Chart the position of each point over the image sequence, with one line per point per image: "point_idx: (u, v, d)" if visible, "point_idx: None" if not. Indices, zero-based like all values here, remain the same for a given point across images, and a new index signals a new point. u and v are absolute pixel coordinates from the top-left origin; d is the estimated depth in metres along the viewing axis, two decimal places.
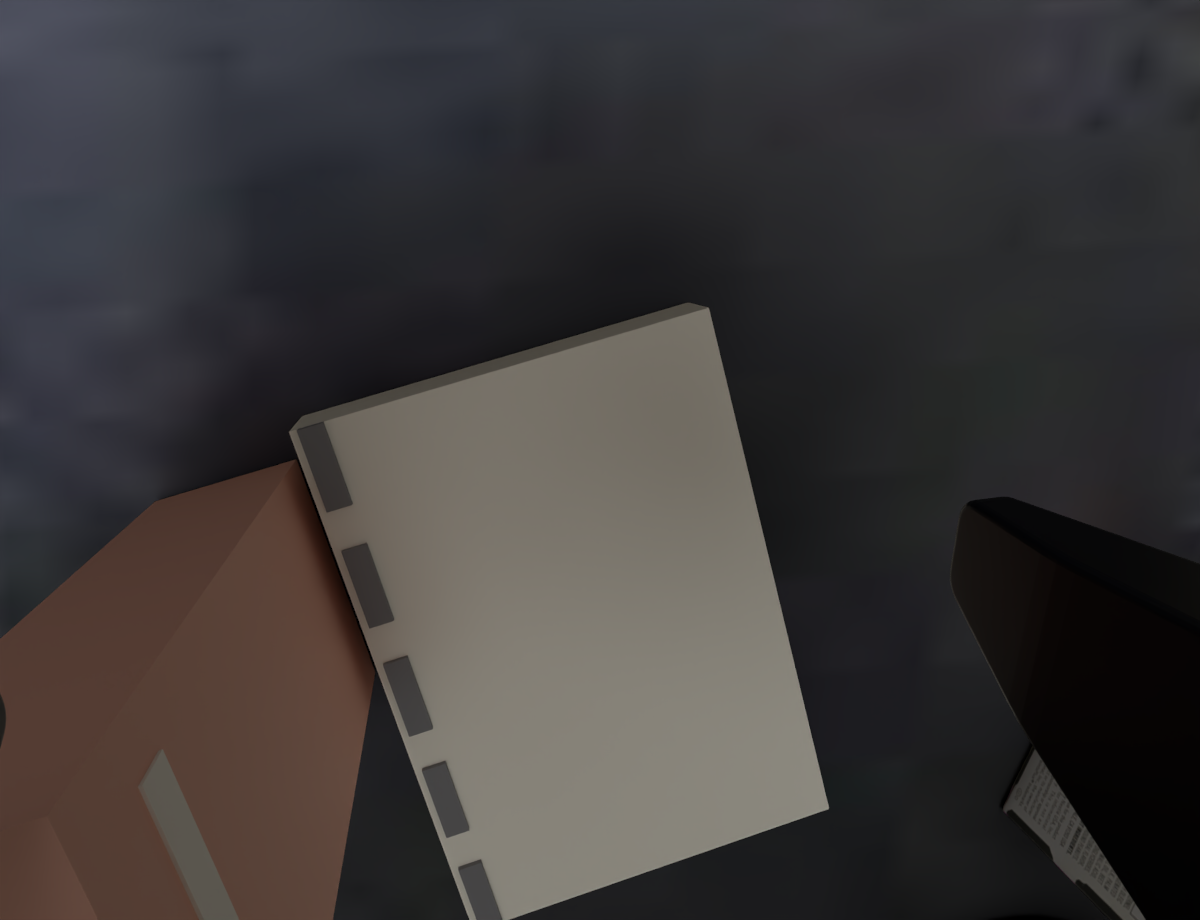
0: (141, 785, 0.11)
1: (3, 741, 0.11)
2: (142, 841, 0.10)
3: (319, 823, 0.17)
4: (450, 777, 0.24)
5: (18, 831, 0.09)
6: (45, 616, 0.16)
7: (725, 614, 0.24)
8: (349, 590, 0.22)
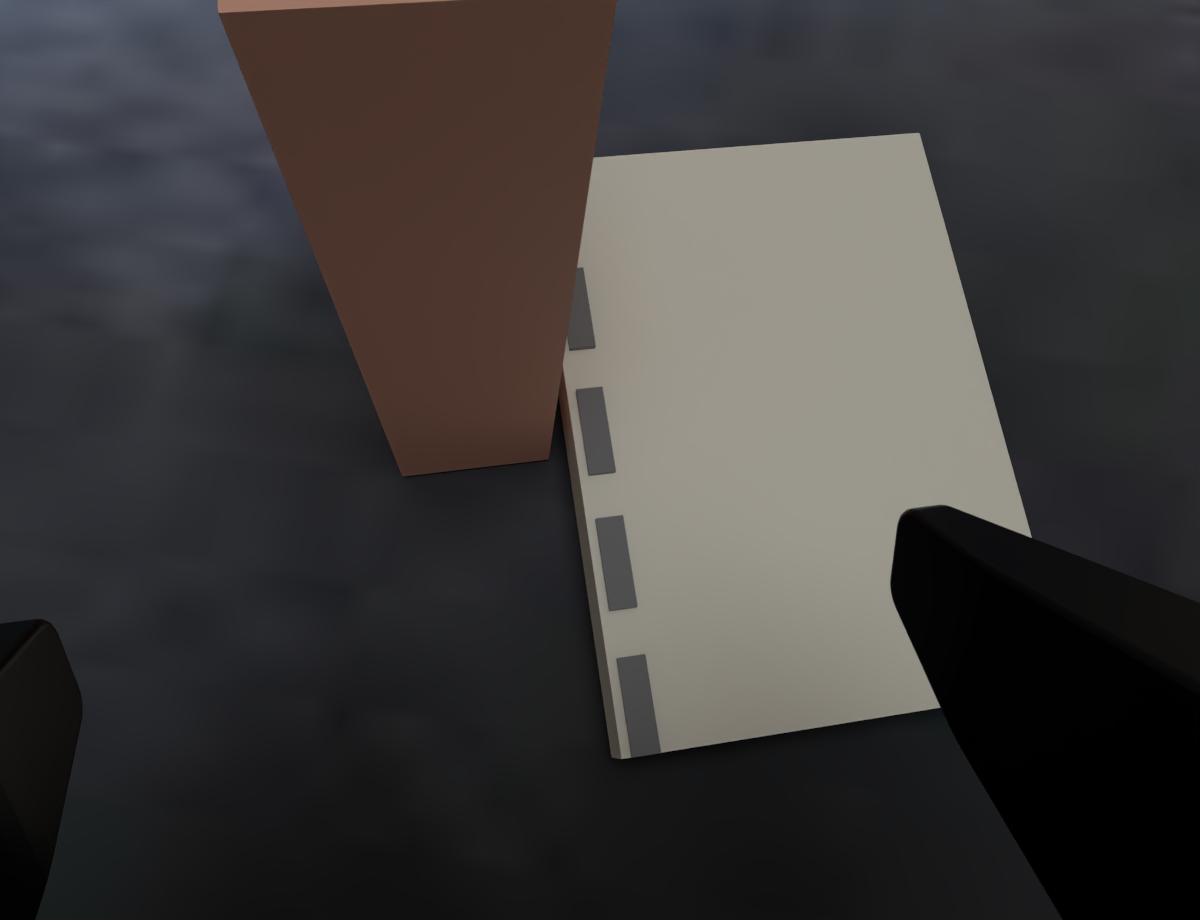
0: None
1: None
2: None
3: None
4: (624, 538, 0.21)
5: None
6: None
7: (938, 415, 0.22)
8: None
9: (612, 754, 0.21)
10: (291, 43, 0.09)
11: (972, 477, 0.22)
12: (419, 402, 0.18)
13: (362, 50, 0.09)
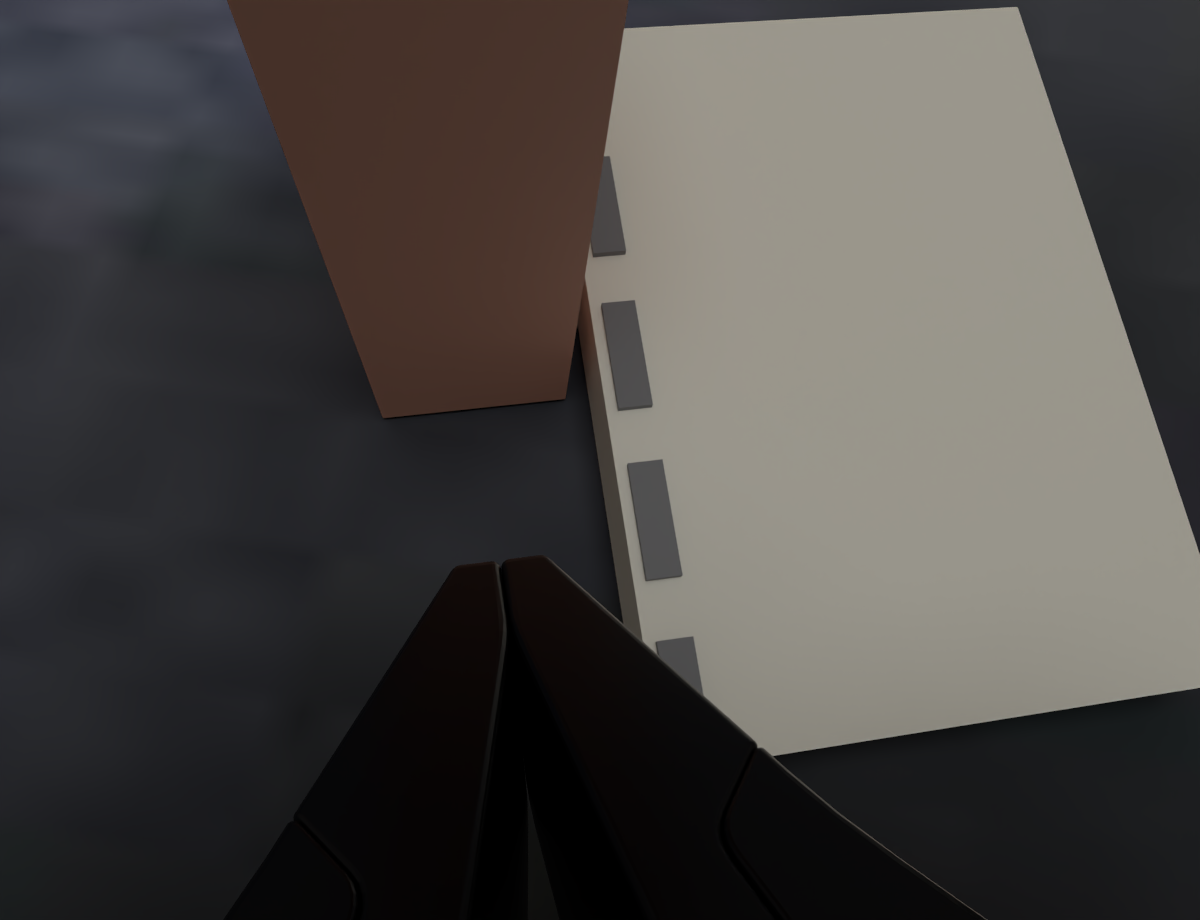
0: None
1: None
2: None
3: None
4: (664, 488, 0.16)
5: None
6: None
7: (1055, 341, 0.18)
8: None
9: None
10: None
11: (1101, 417, 0.17)
12: (397, 295, 0.13)
13: None
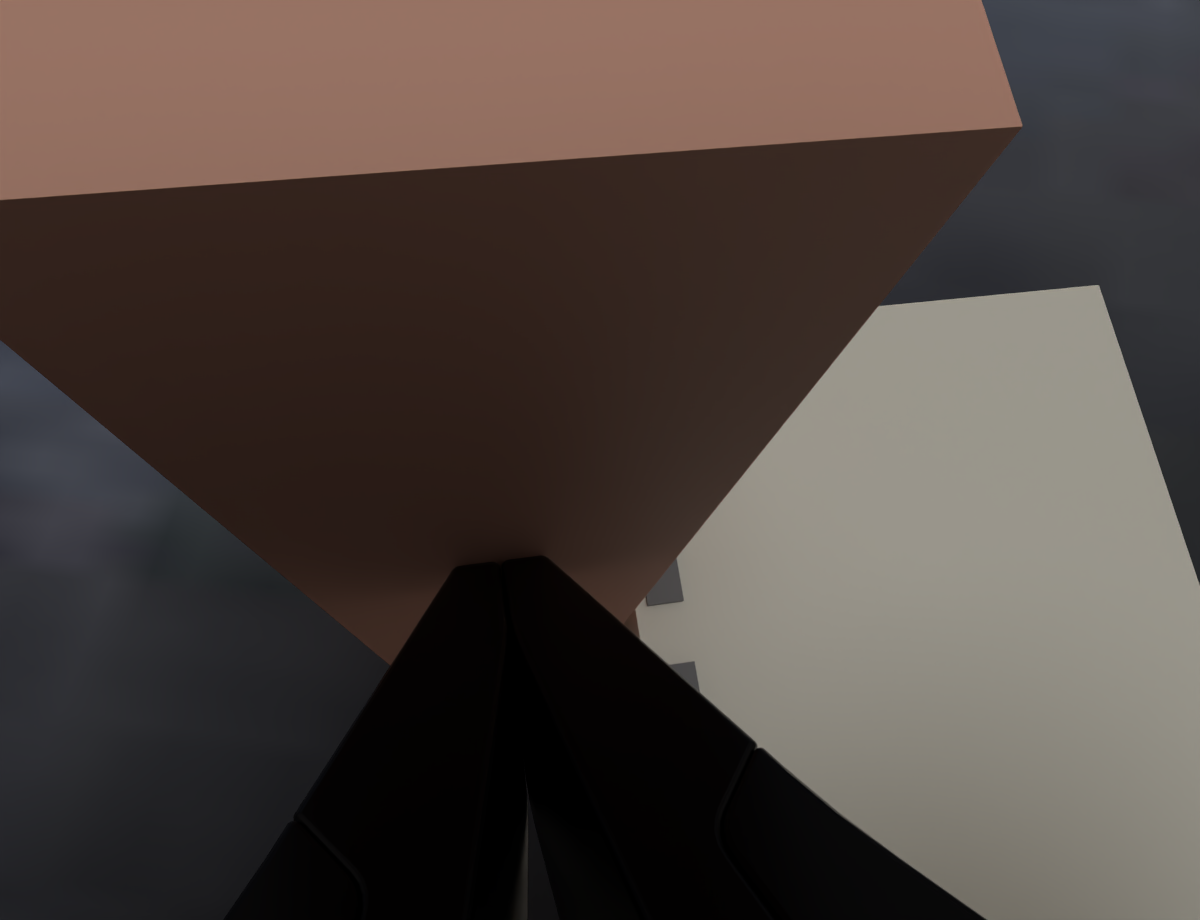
0: None
1: None
2: None
3: None
4: None
5: None
6: None
7: (1154, 690, 0.16)
8: None
9: None
10: (107, 270, 0.03)
11: None
12: None
13: (310, 275, 0.03)
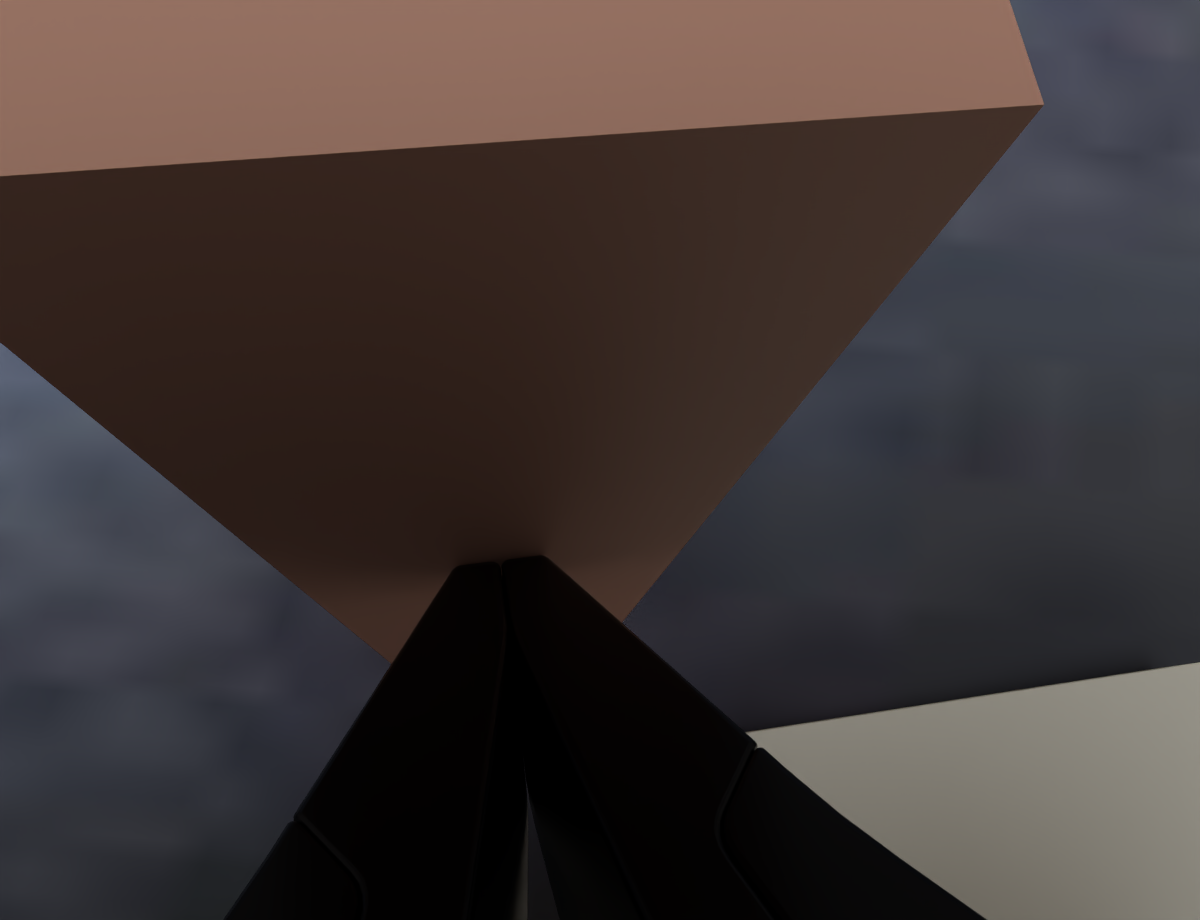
0: None
1: None
2: None
3: None
4: None
5: None
6: None
7: None
8: None
9: None
10: (90, 254, 0.03)
11: None
12: None
13: (302, 260, 0.03)
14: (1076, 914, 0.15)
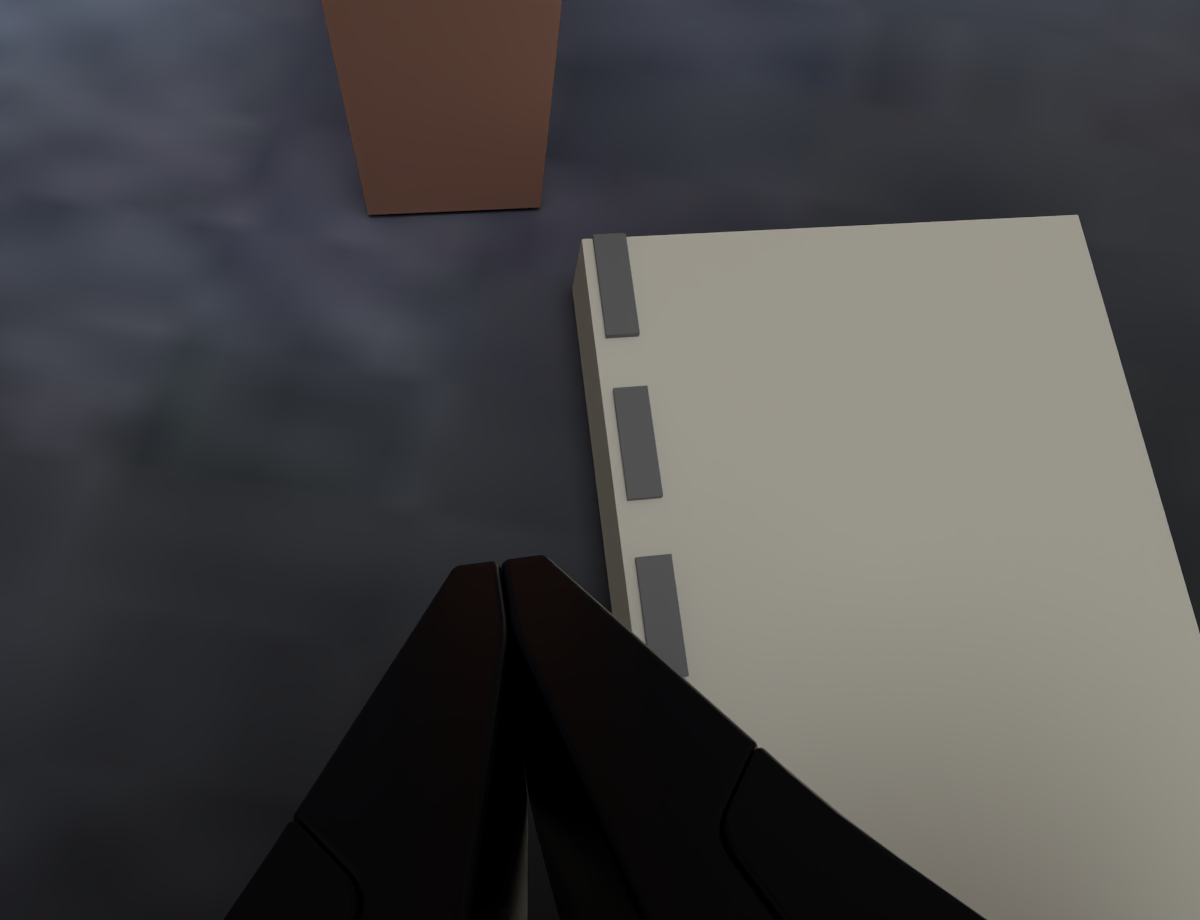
0: None
1: None
2: None
3: None
4: None
5: None
6: None
7: (1113, 599, 0.17)
8: (610, 445, 0.16)
9: None
10: None
11: (1160, 688, 0.16)
12: (385, 44, 0.15)
13: None
14: (930, 388, 0.17)
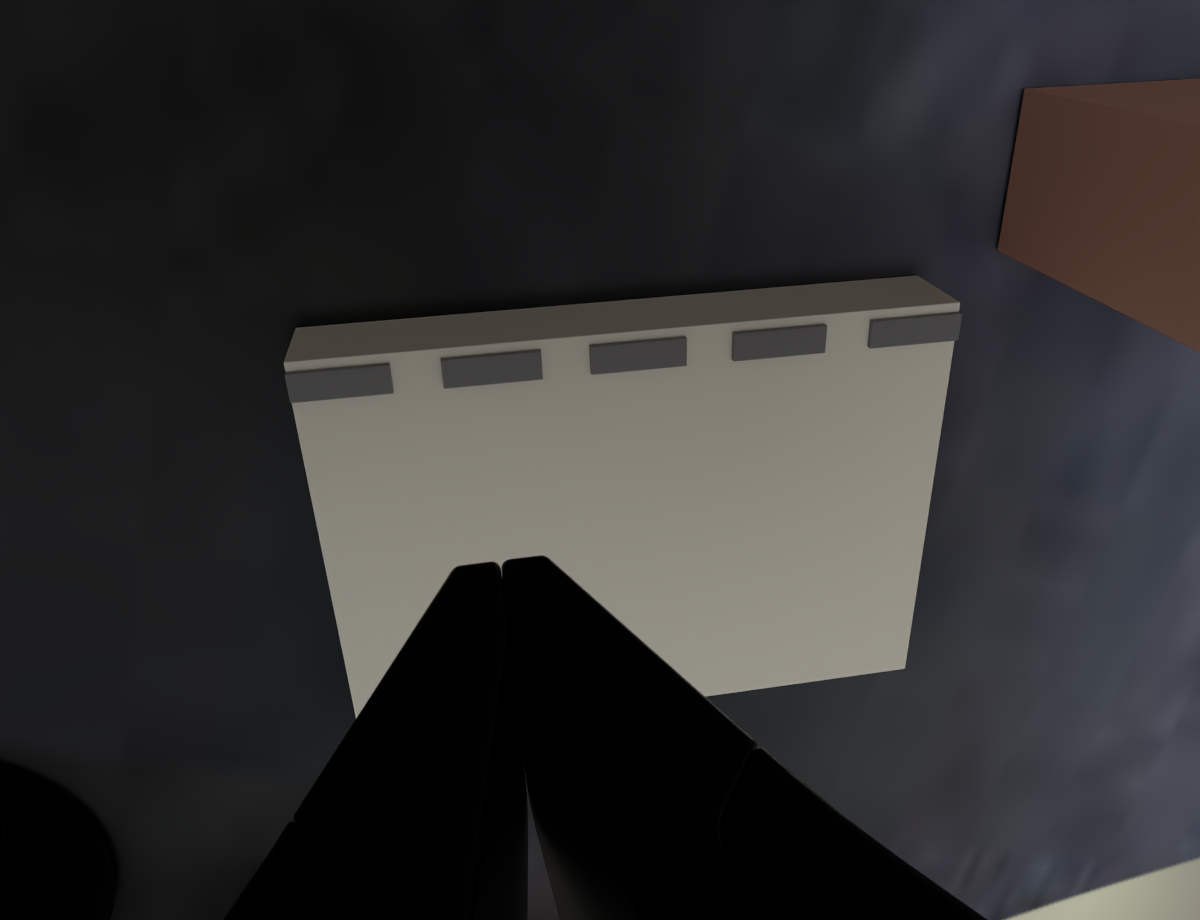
0: None
1: None
2: None
3: None
4: (518, 377, 0.19)
5: None
6: None
7: None
8: (779, 320, 0.20)
9: (297, 332, 0.20)
10: None
11: None
12: (1172, 171, 0.16)
13: None
14: (789, 559, 0.23)
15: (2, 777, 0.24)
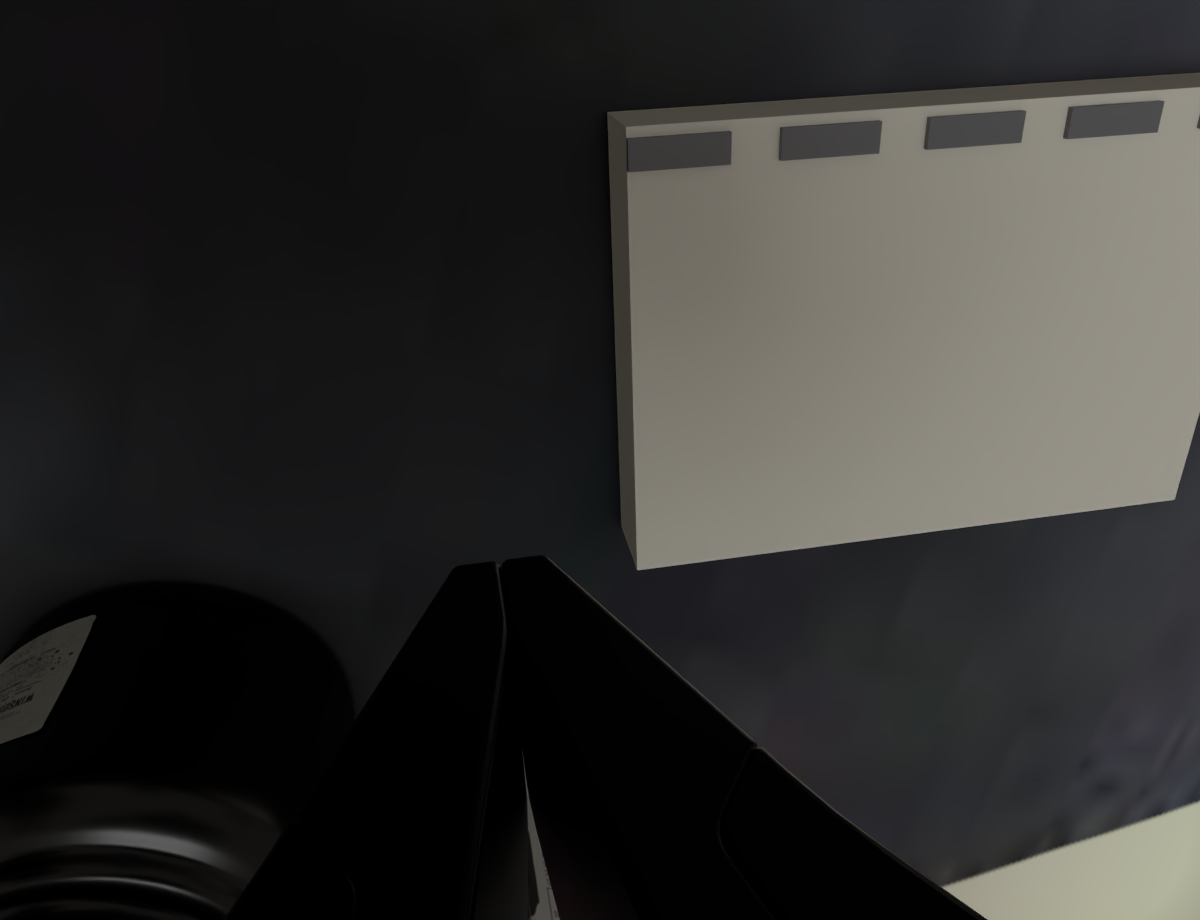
0: None
1: None
2: None
3: None
4: (852, 153, 0.19)
5: None
6: None
7: (901, 485, 0.23)
8: (1116, 95, 0.19)
9: (613, 113, 0.19)
10: None
11: (837, 508, 0.23)
12: None
13: None
14: (1083, 371, 0.22)
15: (260, 612, 0.23)
